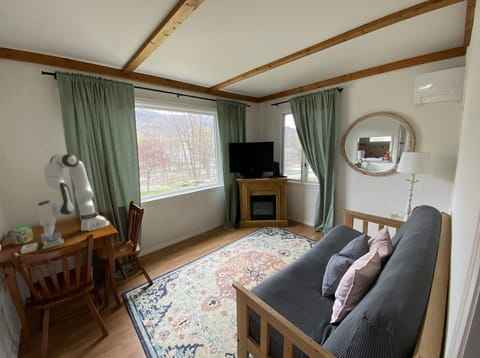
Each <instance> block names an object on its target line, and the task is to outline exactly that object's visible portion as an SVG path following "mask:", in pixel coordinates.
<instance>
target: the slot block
mask: <svg viewBox="0 0 480 358" xmlns="http://www.w3.org/2000/svg"><path fill="white" fill-rule="evenodd" d="M38 248H39V244H38V242H34V243H31V244H26V245H25V244H24V245H23V246H22V247H21V249H20V252H21V255H23V254H27V253H32V252H35V251H37V250H38Z"/></svg>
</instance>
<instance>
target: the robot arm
mask: <svg viewBox="0 0 480 358" xmlns="http://www.w3.org/2000/svg"><path fill="white" fill-rule="evenodd" d="M64 168H68V170H69V174H70V178H71V181H72V183H73V186H74V188H75V191H74V195H75V199H76V202H77V206H78V210H79V214H80V215H79V220H80V222H81V226H80V227H81V228H80V231H83V232H87V231H88V232H91V231H95V230H99V229H102V228H105V227H108V226H109V225H110V224H111V223H110V221H109V220H107V219H106V218H105V216H103V215H99V214H100V213H99V212H98V211H95V205H94V202H93V198H94V192H93V189H92V186H91V184H90V181H89V178H88V175H87V170H86V168H85V165H84V163H83V162H82V161H81V160H79V159H78V158H77V156H75V155H73V154H70V153H61V154H54V155H53V156H51V158H50V160H49V162H48V163H46V164H45V165H44V172H43V173H44V174H43V175H44V183H45V185H47V186H48V187H49V188H52V189H54V190H57V191H58V192H59V194H60V198H61V201H50V200H43V201H41V202H39V203H38V204H37V206H36V207H37V214H38V215H37V216H39V224H40V226H41V227H43V233H45V237H49V239H50V240H51V239H53V237H52V234H54V230H55V228H56V225H55V224H56V223H57V220H56V215H64V216H65V215H66V216H69V215H71V214H72V213H73V212H74V210H75V204H74V202H73V199H72V197H71V193H70V192H71V191H70V188H69V186H68V183H66V182H65V180H64V174H63V170H64ZM98 228H99V229H98Z"/></svg>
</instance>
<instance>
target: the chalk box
mask: <svg viewBox="0 0 480 358" xmlns="http://www.w3.org/2000/svg"><path fill="white" fill-rule="evenodd" d="M14 227H15V228H14V229H12V230H10V231H9V235H10V238H11V243H12V245H25V244H27V243H29V242H32V241H34V240H35V237H34V233H33V229H32V227H31V226H23V225H22V224H21V223H20V224H17V225H15V226H14Z"/></svg>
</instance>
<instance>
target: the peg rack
mask: <svg viewBox="0 0 480 358" xmlns="http://www.w3.org/2000/svg"><path fill="white" fill-rule="evenodd" d="M64 241H65V240H64V238H61V239H60V238H58V239H57V240H53V241H49V242H46V241H45V242H44V244H43V246H42V250H44V249H48V248H51V247H56V246H59V245H63V244H64Z"/></svg>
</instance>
